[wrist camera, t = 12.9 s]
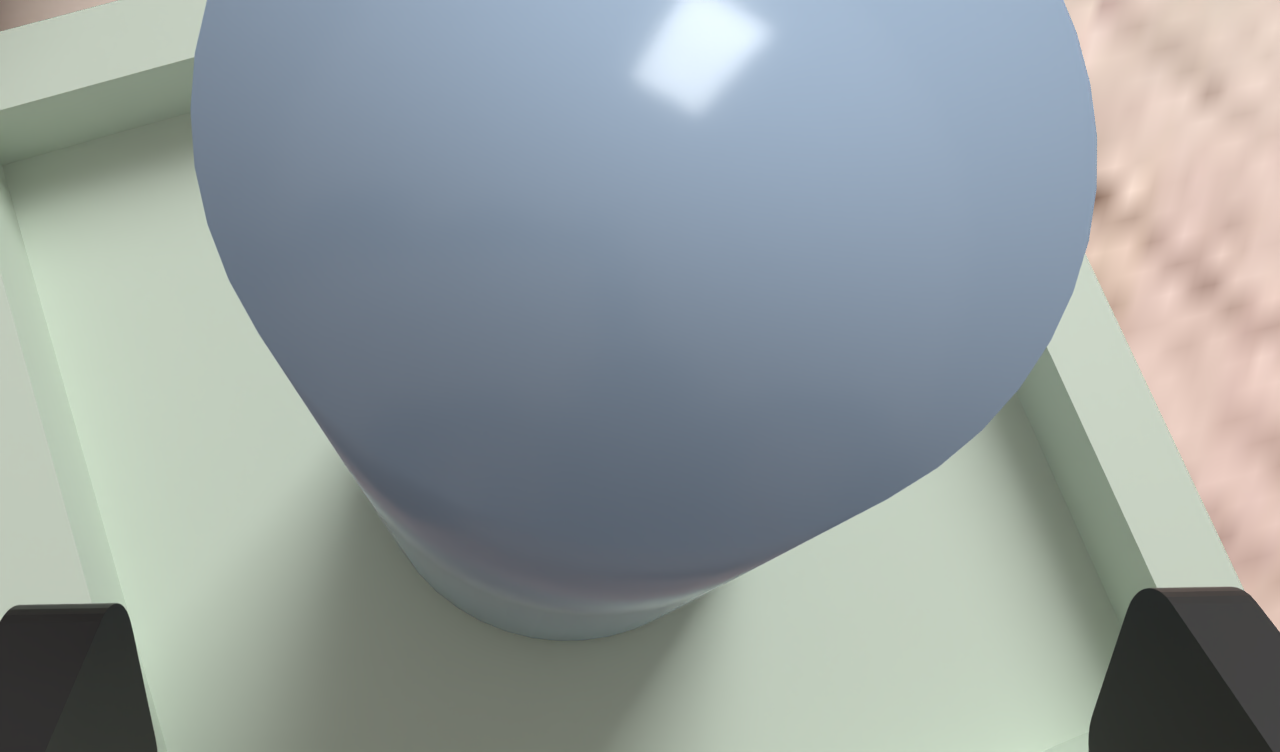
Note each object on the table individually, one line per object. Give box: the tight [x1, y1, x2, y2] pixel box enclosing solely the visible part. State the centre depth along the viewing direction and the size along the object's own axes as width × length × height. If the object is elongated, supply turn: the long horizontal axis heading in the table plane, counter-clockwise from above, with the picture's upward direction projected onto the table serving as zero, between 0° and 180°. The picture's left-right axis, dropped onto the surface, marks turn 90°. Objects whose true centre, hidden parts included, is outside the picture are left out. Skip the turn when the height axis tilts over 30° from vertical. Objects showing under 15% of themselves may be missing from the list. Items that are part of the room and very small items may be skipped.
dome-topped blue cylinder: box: [190, 0, 1097, 641], centre depth 13 cm, size 6×6×11 cm
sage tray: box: [0, 0, 1244, 752], centre depth 18 cm, size 16×16×2 cm
